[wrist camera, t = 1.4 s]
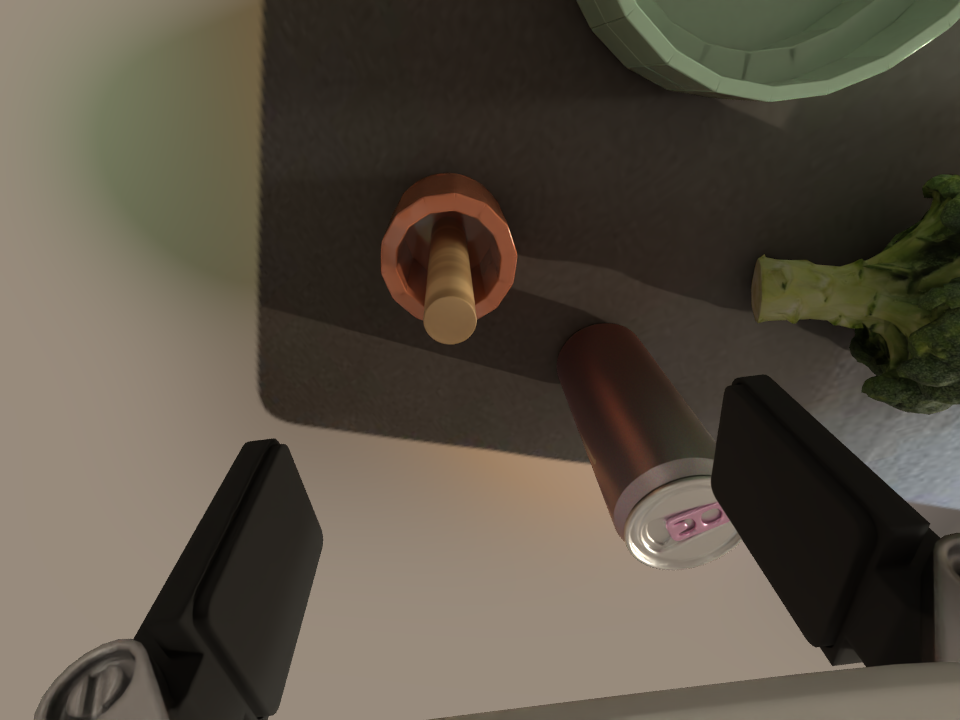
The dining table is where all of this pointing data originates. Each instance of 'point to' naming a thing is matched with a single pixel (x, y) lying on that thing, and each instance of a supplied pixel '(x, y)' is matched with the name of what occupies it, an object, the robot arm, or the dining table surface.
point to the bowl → (765, 42)
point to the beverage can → (644, 450)
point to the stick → (449, 285)
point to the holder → (412, 238)
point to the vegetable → (887, 305)
